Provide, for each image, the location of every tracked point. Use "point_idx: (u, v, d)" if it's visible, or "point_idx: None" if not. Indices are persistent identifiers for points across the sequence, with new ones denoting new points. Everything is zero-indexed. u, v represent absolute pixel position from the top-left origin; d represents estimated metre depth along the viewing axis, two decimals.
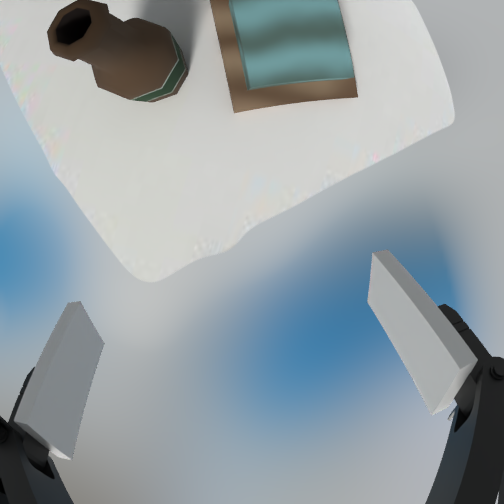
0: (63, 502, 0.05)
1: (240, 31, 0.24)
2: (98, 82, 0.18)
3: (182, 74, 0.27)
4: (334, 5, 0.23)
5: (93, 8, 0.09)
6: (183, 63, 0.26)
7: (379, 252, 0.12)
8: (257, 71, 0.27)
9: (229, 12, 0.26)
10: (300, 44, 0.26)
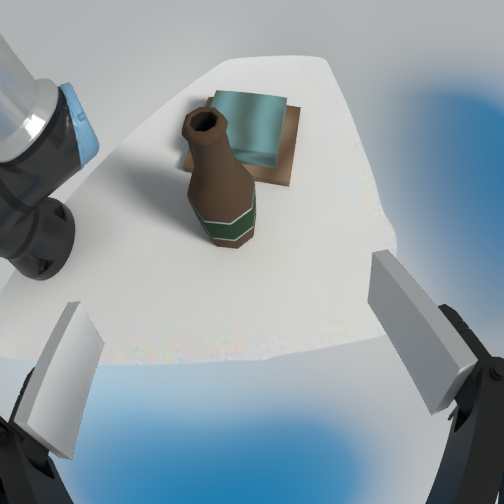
0: (63, 502, 0.05)
1: None
2: (227, 204, 0.30)
3: None
4: (230, 93, 0.44)
5: (202, 108, 0.21)
6: None
7: (379, 252, 0.12)
8: (266, 147, 0.41)
9: None
10: (254, 118, 0.43)
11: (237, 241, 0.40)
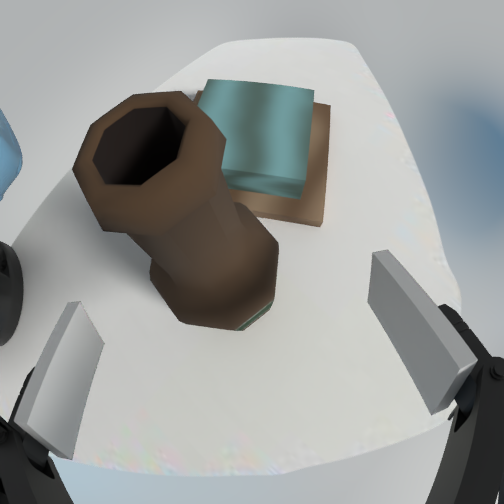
0: (63, 502, 0.05)
1: (231, 168, 0.26)
2: (229, 314, 0.14)
3: None
4: (228, 83, 0.29)
5: (139, 97, 0.06)
6: None
7: (379, 252, 0.12)
8: (288, 168, 0.26)
9: None
10: (267, 121, 0.27)
11: (245, 328, 0.24)
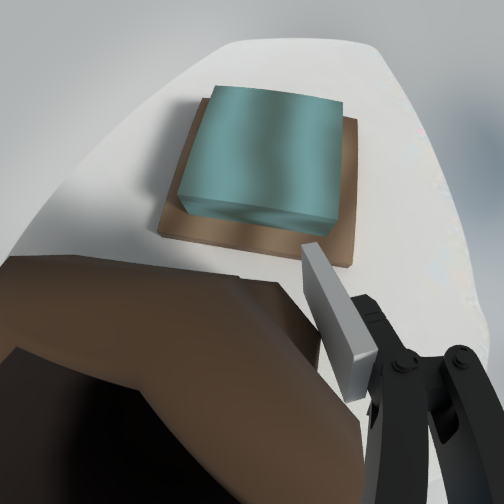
0: None
1: (246, 202, 0.21)
2: None
3: None
4: (240, 91, 0.24)
5: (16, 302, 0.01)
6: None
7: (307, 244, 0.13)
8: (316, 203, 0.21)
9: (201, 217, 0.25)
10: (289, 140, 0.23)
11: None
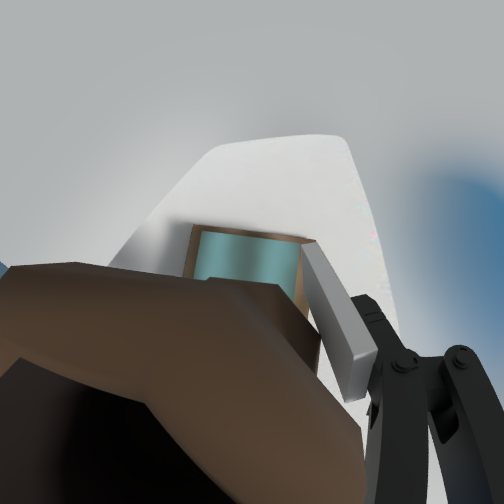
0: None
1: None
2: None
3: None
4: (221, 237, 0.36)
5: (18, 312, 0.01)
6: None
7: (307, 244, 0.13)
8: None
9: None
10: None
11: None
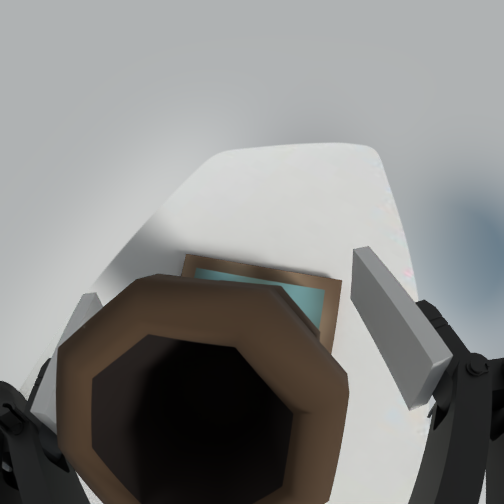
0: (77, 497, 0.05)
1: None
2: None
3: None
4: (221, 278, 0.27)
5: (155, 307, 0.03)
6: None
7: (360, 249, 0.12)
8: None
9: None
10: None
11: None
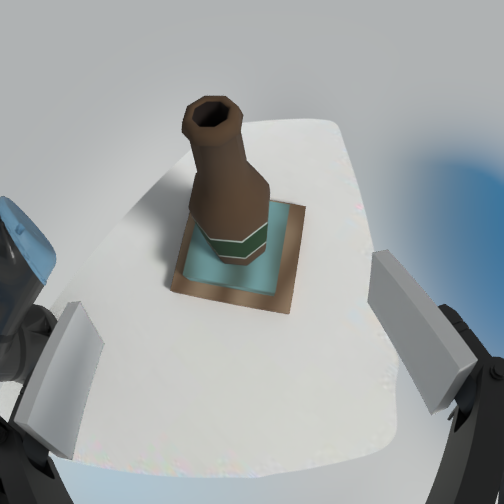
0: (63, 502, 0.05)
1: (222, 281, 0.37)
2: (239, 220, 0.24)
3: None
4: None
5: (208, 97, 0.16)
6: None
7: (379, 252, 0.12)
8: (263, 282, 0.37)
9: (197, 282, 0.41)
10: None
11: (248, 258, 0.34)
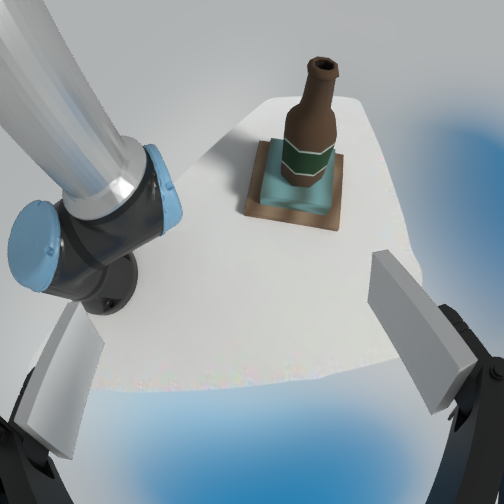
0: (63, 502, 0.05)
1: (291, 198, 0.48)
2: (324, 134, 0.35)
3: None
4: None
5: (320, 57, 0.27)
6: None
7: (379, 252, 0.12)
8: (322, 199, 0.48)
9: (266, 206, 0.52)
10: None
11: (314, 177, 0.45)
